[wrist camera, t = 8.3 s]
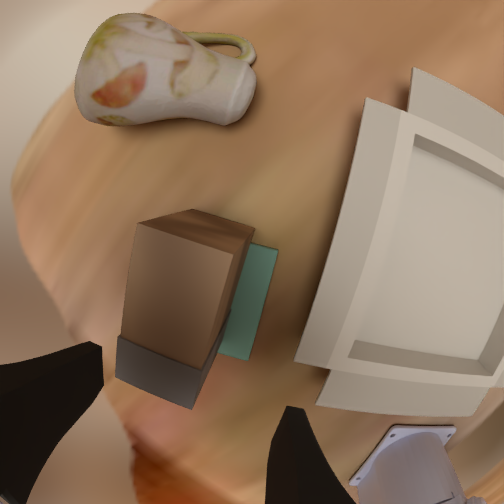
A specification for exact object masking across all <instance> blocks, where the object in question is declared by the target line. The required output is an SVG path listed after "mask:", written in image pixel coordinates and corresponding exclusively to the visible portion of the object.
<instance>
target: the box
mask: <svg viewBox="0 0 504 504" xmlns="http://www.w3.org/2000/svg"><path fill="white" fill-rule="evenodd" d="M254 230H255V228H252V227H249V226H246V225H243V224H239V223H236V222H233V221H230V220H227V219H223V218H220V217H217V216H214V215H210V214H207V213H204V212H201V211H197V210H194V209H190V210H186V211H182V212H178V213H174V214H170V215H166V216H162V217H158V218H154V219H151V220H147V221H143V222H139V223H137V228H136V233H135V238H134V243H133V249H132V254H131V260H130V266H129V272H128V279H127V286H126V293H125V300H124V308H123V317H122V326H121V334H120V335H119V336H118V339H117V352H116V369H115V377H116V378H118V379H120V380H122V381H124V382H126V383H129V384H131V385H133V386H135V387H137V388H139V389H142V390H144V391H146V392H148V393H151V394H153V395H155V396H158V397H160V398H162V399H165V400H167V401H170V402H172V403H175V404H177V405H180V406H183V407H185V408H188V409H191V410H192V408H193V406H194V404H195V402H196V399H197V397H198V395H199V393H200V390H201V388H202V386H203V384H204V381H205V379H206V377H207V375H208V372H209V370H210V368H211V366H212V363H213V361H214V359H215V357H216V354H217V352H218V350H219V347H220V345H221V343H222V340H223V337H224V334H225V330H226V327H227V324H228V320H229V317H230V314H231V311H232V309H231V305H232V302H233V299H234V295H235V292H236V289H237V286H238V282H239V279H240V276H241V272H242V269H243V266H244V263H245V259H246V256H247V253H248V250H249V246H250V243H251V240H252V236H253V233H254Z"/></svg>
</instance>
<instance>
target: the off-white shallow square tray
mask: <svg viewBox="0 0 504 504" xmlns="http://www.w3.org/2000/svg"><path fill="white" fill-rule="evenodd" d="M293 361H294V362H299V363H303V364H308V365H313V366H318V367H323V368H328V369H330V371H329V373H328V376H327V378H326V380H325V382H324V384H323V386H322V389H321V391H320V393H319V395H318V397H317V399H316V401H315V405H318V406H324V407H331V408H337V409H344V410H352V411H360V412H369V413H379V414H391V415H406V416H430V417H464V416H472V415H473V413H474V412H475V411H476V409H477V408H478V406H479V405H480V403H481V402H482V400H483V398H484V397H485V395H486V394H487V392H488V390H489V389H490V387H504V116H503V115H502V114H500V113H499V112H497V111H496V110H494V109H493V108H491V107H489V106H488V105H486V104H485V103H483V102H481V101H480V100H478V99H476V98H475V97H473V96H471V95H469V94H468V93H466V92H464V91H462V90H460V89H459V88H457V87H455V86H453V85H451V84H449V83H447V82H445V81H443V80H441V79H439V78H437V77H435V76H433V75H431V74H429V73H426V72H424V71H422V70H420V69H417V68H415V67H413V68H412V70H411V79H410V88H409V96H408V103H407V110H406V112H405V111H403V110H400V109H397V108H395V107H392V106H390V105H387V104H384V103H381V102H378V101H376V100H373V99H370V98H367V97H366V98H365V101H364V106H363V112H362V117H361V122H360V127H359V132H358V137H357V141H356V146H355V150H354V155H353V159H352V164H351V168H350V172H349V177H348V181H347V185H346V189H345V193H344V197H343V201H342V205H341V209H340V212H339V216H338V220H337V224H336V227H335V231H334V234H333V238H332V242H331V245H330V249H329V252H328V255H327V259H326V262H325V266H324V269H323V272H322V275H321V279H320V282H319V285H318V288H317V291H316V295H315V298H314V301H313V304H312V307H311V310H310V313H309V316H308V319H307V322H306V325H305V328H304V331H303V333H302V336H301V339H300V342H299V345H298V348H297V350H296V353H295V356H294V359H293Z"/></svg>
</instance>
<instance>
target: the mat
mask: <svg viewBox="0 0 504 504" xmlns="http://www.w3.org/2000/svg"><path fill="white" fill-rule="evenodd" d="M277 253H278V249H274V248H270V247H266V246H262V245H258V244H254V243H250V246H249V250H248V253H247V256H246V259H245V263H244V266H243V269H242V272H241V276H240V279H239V282H238V286H237V289H236V292H235V295H234V299H233V302H232V305H231V309H232V311H231V314H230V317H229V320H228V324H227V327H226V330H225V334H224V337H223V340H222V343H221V345H220V347H219V350H218V352H217V353H220V354H223V355H227V356H231V357H234V358H238V359H242V360H245V361H248V359H249V356H250V352H251V349H252V345H253V342H254V338H255V335H256V331H257V327H258V324H259V320H260V317H261V313H262V309H263V306H264V302H265V298H266V295H267V291H268V287H269V284H270V280H271V276H272V272H273V269H274V265H275V261H276V257H277Z"/></svg>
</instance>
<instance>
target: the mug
mask: <svg viewBox="0 0 504 504" xmlns="http://www.w3.org/2000/svg"><path fill="white" fill-rule="evenodd" d="M201 43H221V44H229V45H234V46H238V47H239V48H240V49H241V50H242V53H241V55H240V56H238V57H235V58H234V57H230V56H227V55H223V54H220V53H218V52H215V51H213V50H210V49H208V48H206V47H204V46H203V45H201ZM255 59H256V53H255V50H254V47H253V46H252V44H251V43H250V42H249V41H248V40H246V39H244V38H242V37H240V36H238V35H233V34H223V33H198V32H181V31H179V30H178V29H176V28H175V27H173V26H172V25H170V24H168V23H166V22H164V21H163V20H161V19H158V18H156V17H153V16H150V15H146V14H140V13H126V14H118V15H115V16H112V17H110V18H109V19H107V20H106V21H105V22H103V23H102V24H101V25H100V26H99V27H98V28H97V29H96V31H95V32H94V33H93V35H92V36H91V38H90V40H89V41H88V43H87V45H86V47H85V50H84V52H83V54H82V57H81V60H80V63H79V66H78V69H77V73H76V77H75V90H74V93H75V99H76V102H77V105H78V108H79V110H80V112H81V114H82V116H83V117H84V118H85V119H86V120H88V121H91V122H94V123H98V124H102V125H106V126H129V125H136V124H142V123H147V122H153V121H159V120H165V119H173V118H194V119H199V120H204V121H208V122H212V123H215V124H219V125H228V124H230V123H233V122H235V121H237V120H239V119H240V118H241V117H242V116H243V115H244V113H245V112H246V110H247V108H248V107H249V105H250V103H251V100H252V98H253V96H254V91H255V88H256V84H257V80H256V74H255V73H254V71H253V70H252V69H251V67H250V66H249V65H250V64H252V63H253V62H254V60H255Z"/></svg>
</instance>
